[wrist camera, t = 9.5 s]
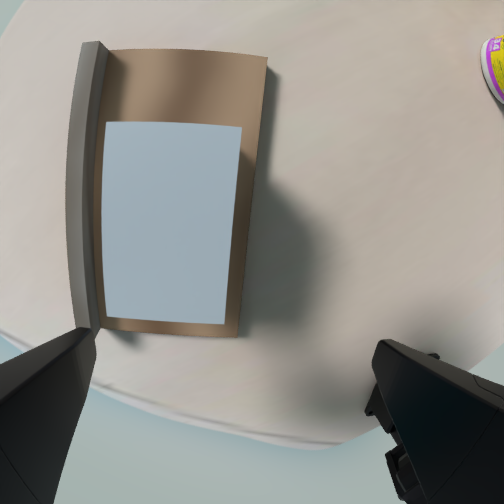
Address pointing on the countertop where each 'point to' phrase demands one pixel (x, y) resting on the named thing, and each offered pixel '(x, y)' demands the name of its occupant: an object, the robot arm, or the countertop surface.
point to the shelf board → (154, 110)
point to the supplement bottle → (494, 65)
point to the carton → (168, 219)
